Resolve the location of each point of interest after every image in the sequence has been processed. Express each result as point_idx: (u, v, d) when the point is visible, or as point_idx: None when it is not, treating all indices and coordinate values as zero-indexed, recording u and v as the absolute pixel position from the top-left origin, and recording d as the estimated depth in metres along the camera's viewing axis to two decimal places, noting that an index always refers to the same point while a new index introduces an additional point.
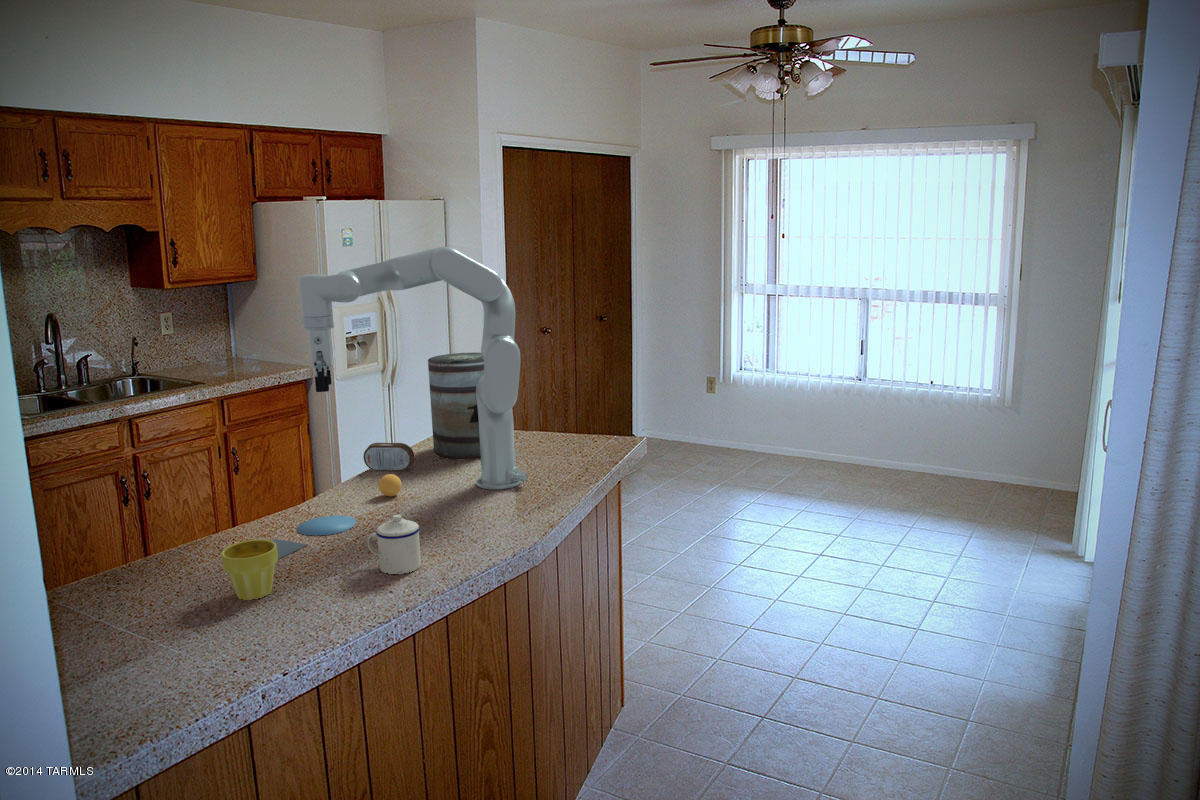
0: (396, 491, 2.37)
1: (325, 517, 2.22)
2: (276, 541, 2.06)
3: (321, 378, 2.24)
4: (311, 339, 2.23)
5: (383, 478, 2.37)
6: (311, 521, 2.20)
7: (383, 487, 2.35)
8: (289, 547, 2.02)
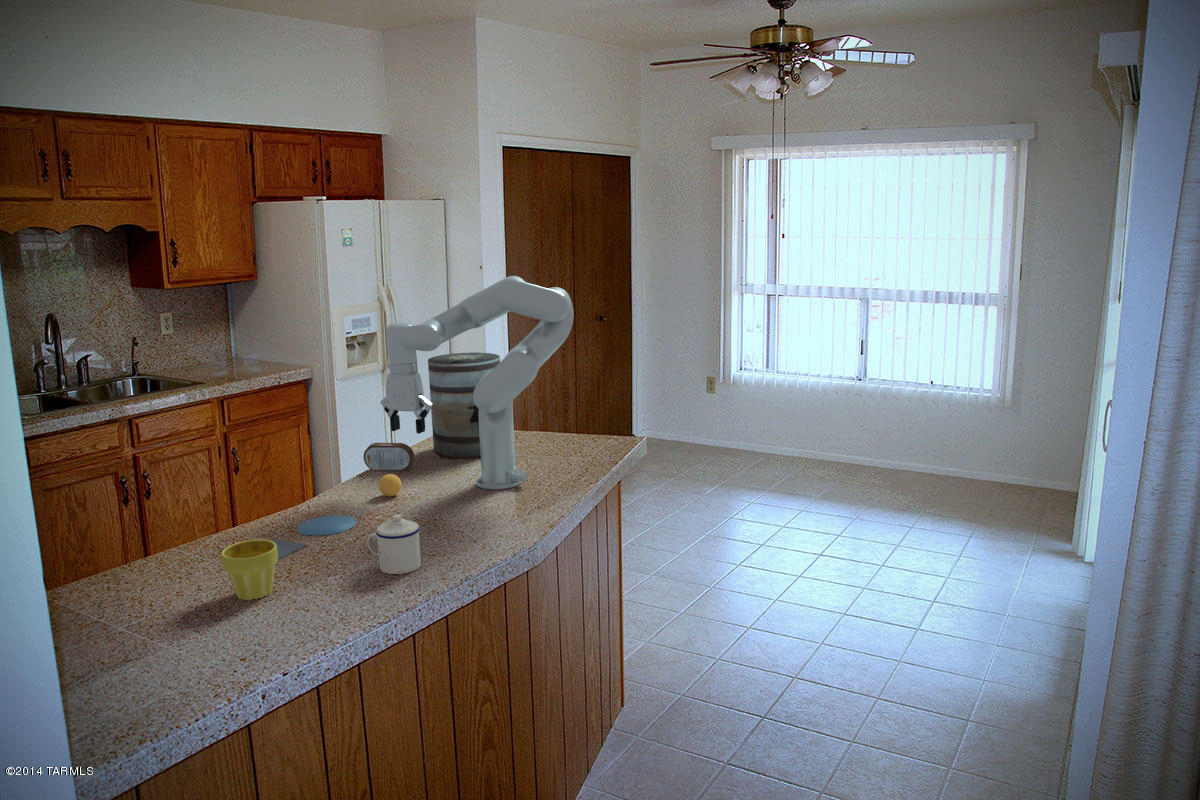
0: (396, 491, 2.37)
1: (325, 517, 2.22)
2: (276, 541, 2.06)
3: None
4: None
5: (383, 478, 2.37)
6: (311, 521, 2.20)
7: (383, 487, 2.35)
8: (289, 547, 2.02)
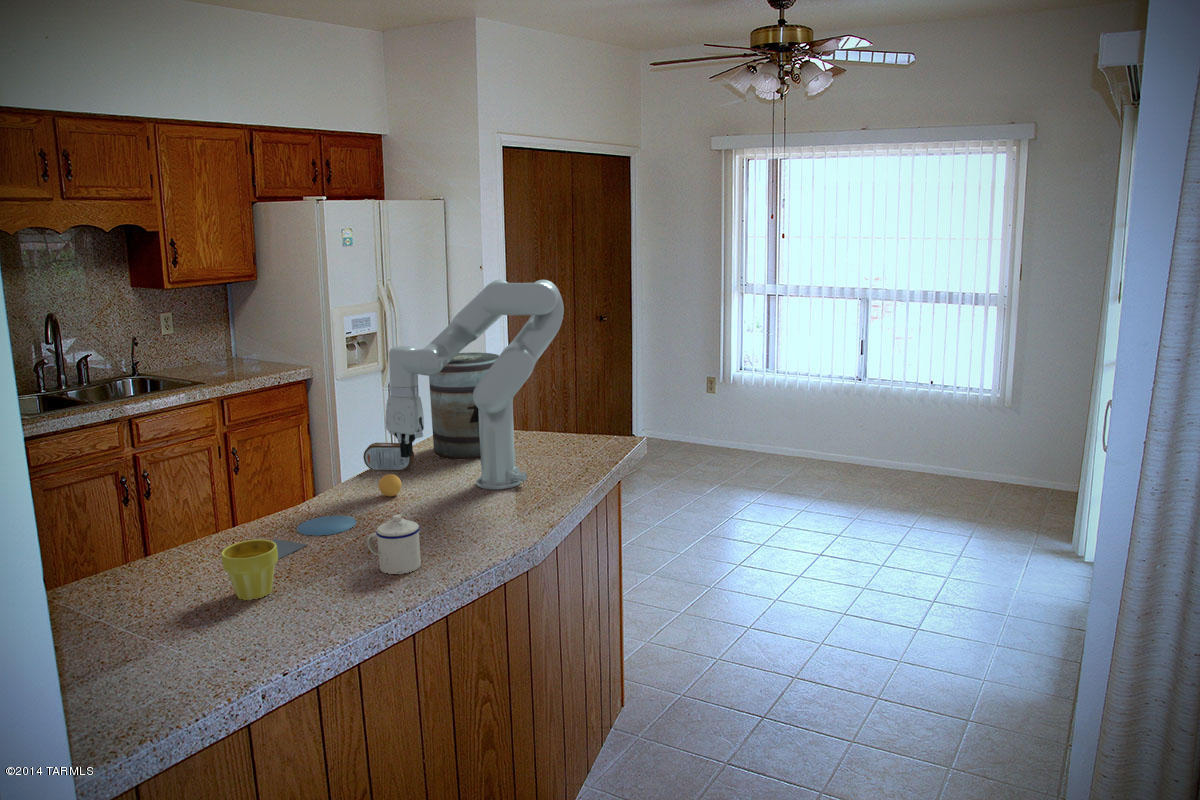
0: (396, 491, 2.37)
1: (325, 517, 2.22)
2: (276, 541, 2.06)
3: None
4: None
5: (383, 478, 2.37)
6: (311, 521, 2.20)
7: (383, 487, 2.35)
8: (289, 547, 2.02)
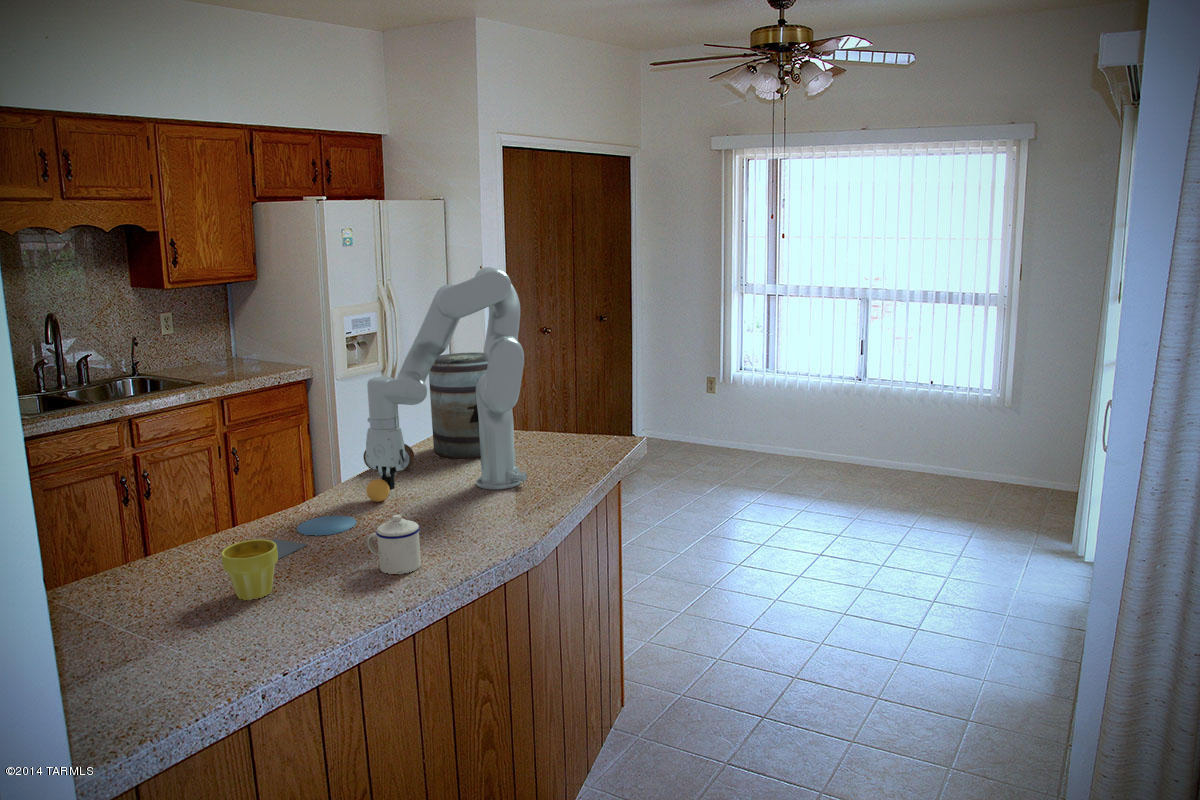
0: (388, 493, 2.34)
1: (325, 517, 2.22)
2: (276, 541, 2.06)
3: None
4: None
5: (370, 497, 2.32)
6: (311, 521, 2.20)
7: (377, 501, 2.34)
8: (289, 547, 2.02)
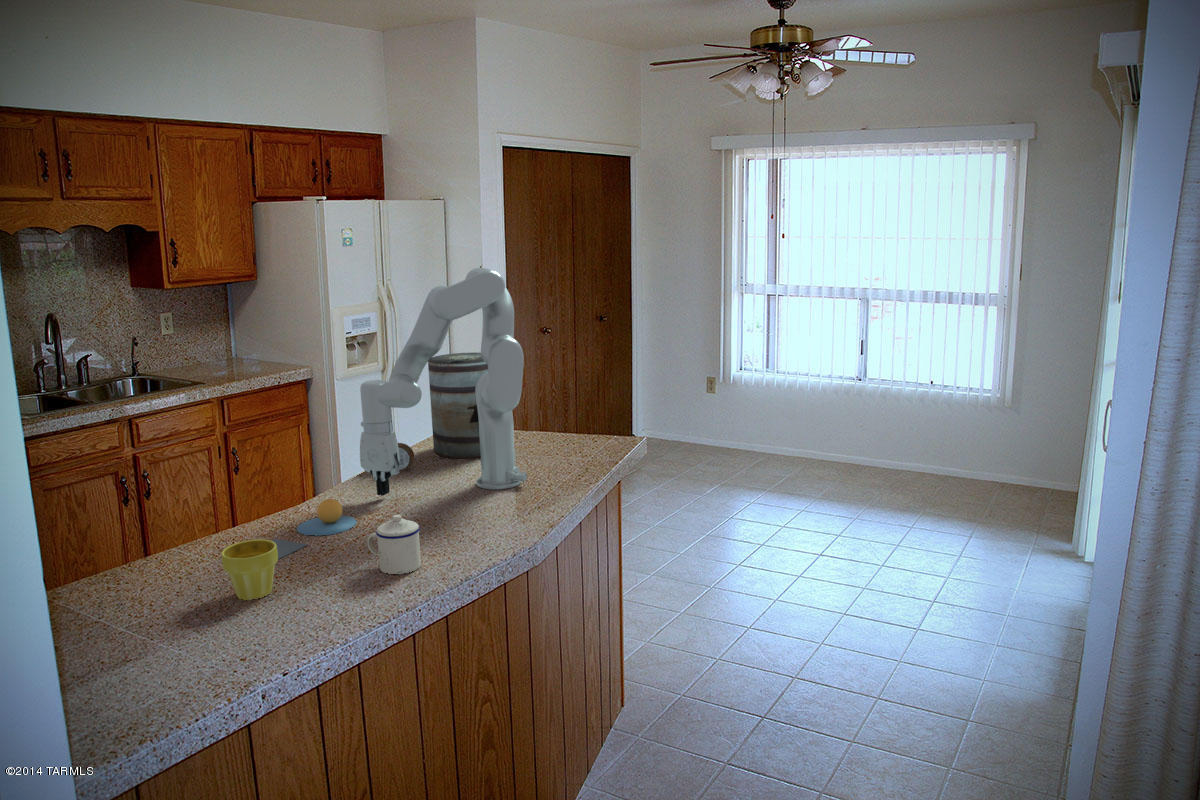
0: (340, 515, 2.18)
1: None
2: (276, 541, 2.06)
3: None
4: None
5: (319, 515, 2.16)
6: (311, 521, 2.20)
7: (326, 522, 2.17)
8: (289, 547, 2.02)
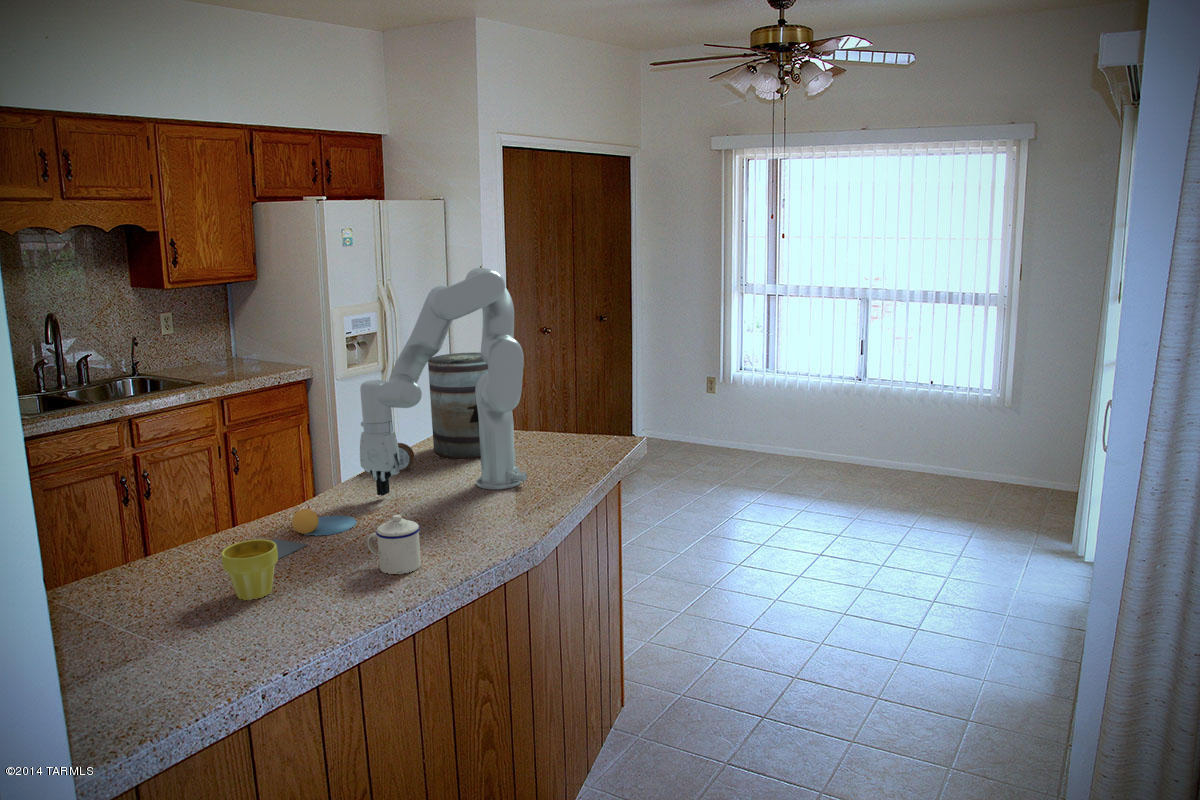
0: (312, 517, 2.10)
1: (325, 517, 2.22)
2: (276, 541, 2.06)
3: None
4: None
5: None
6: None
7: None
8: (289, 547, 2.02)
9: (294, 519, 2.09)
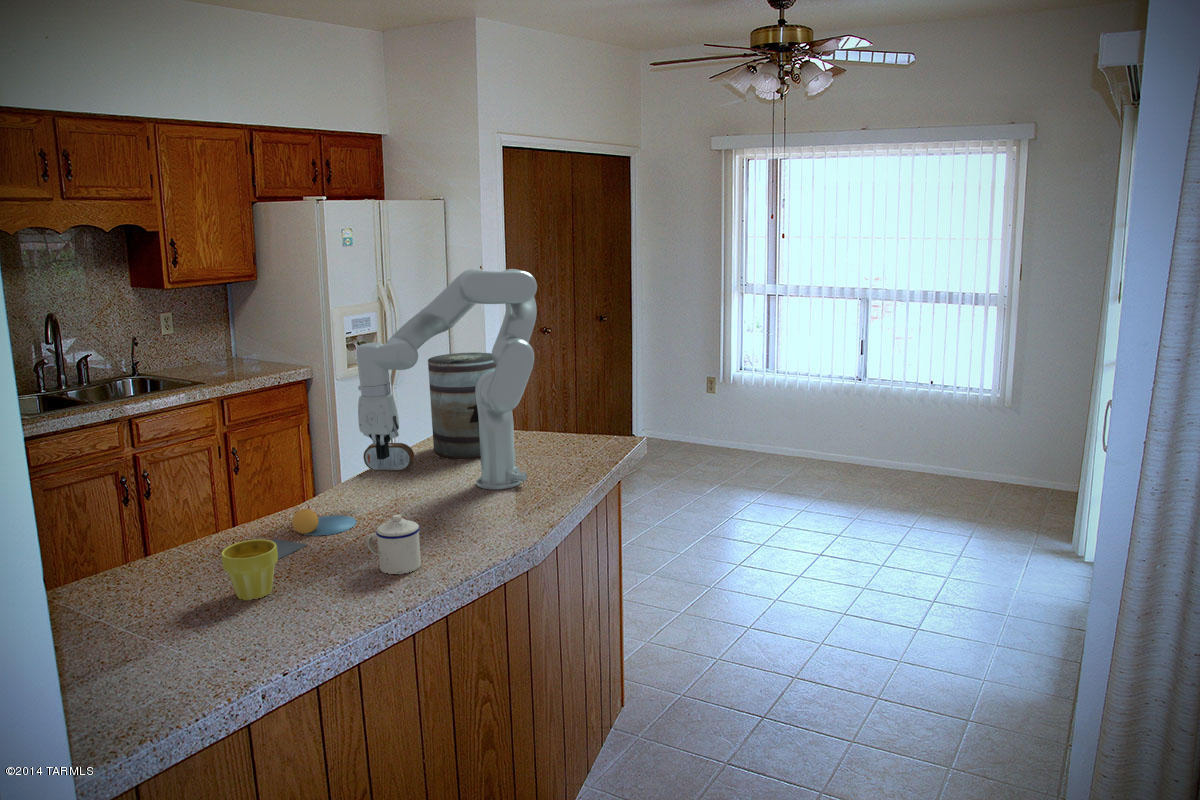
0: (312, 517, 2.10)
1: (325, 517, 2.22)
2: (276, 541, 2.06)
3: None
4: None
5: None
6: None
7: None
8: (289, 547, 2.02)
9: (294, 519, 2.09)
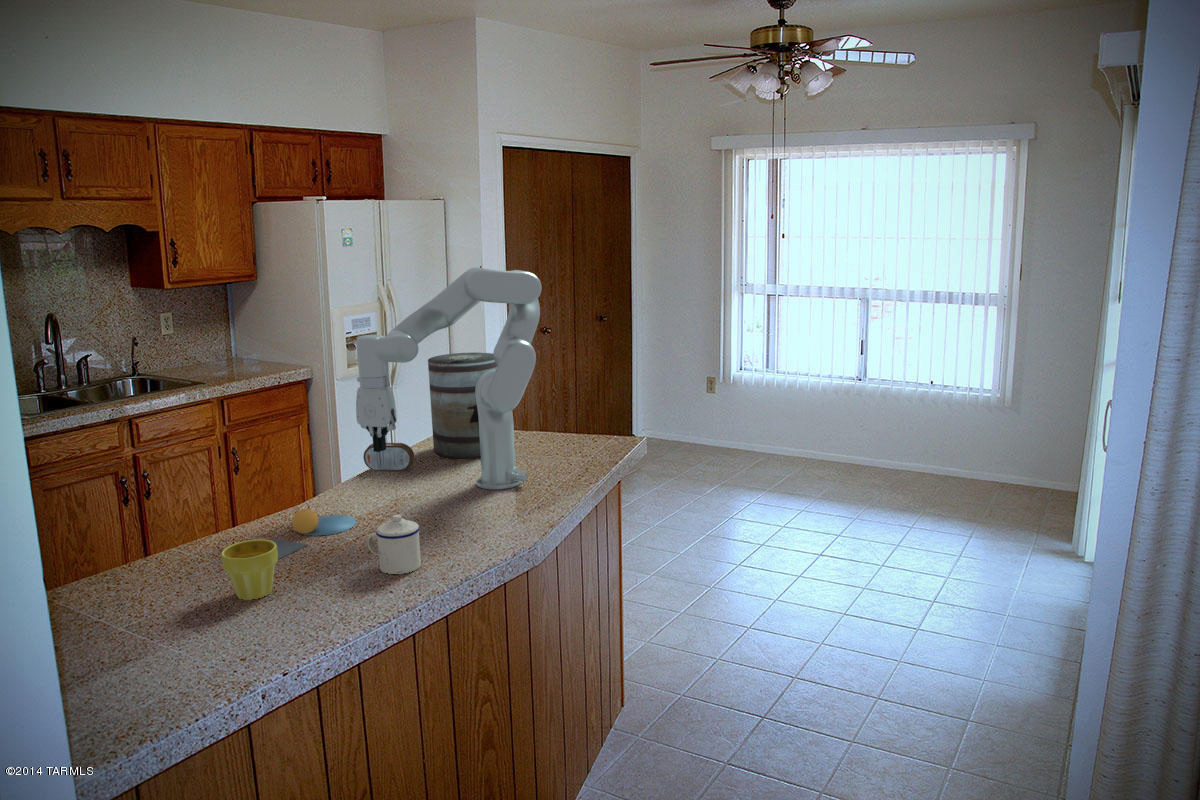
0: (312, 517, 2.10)
1: (325, 517, 2.22)
2: (276, 541, 2.06)
3: None
4: None
5: None
6: None
7: None
8: (289, 547, 2.02)
9: (294, 519, 2.09)
